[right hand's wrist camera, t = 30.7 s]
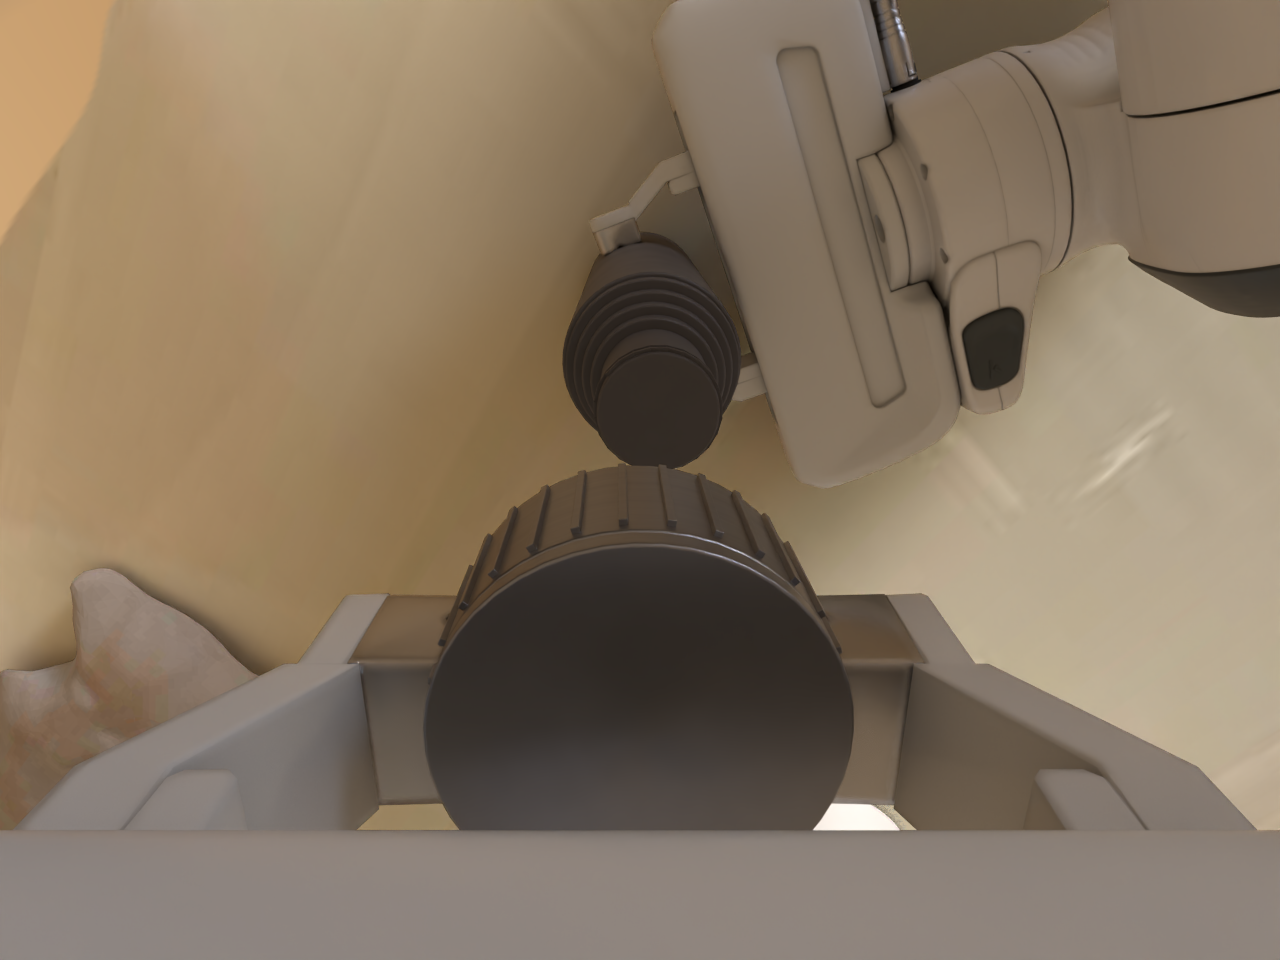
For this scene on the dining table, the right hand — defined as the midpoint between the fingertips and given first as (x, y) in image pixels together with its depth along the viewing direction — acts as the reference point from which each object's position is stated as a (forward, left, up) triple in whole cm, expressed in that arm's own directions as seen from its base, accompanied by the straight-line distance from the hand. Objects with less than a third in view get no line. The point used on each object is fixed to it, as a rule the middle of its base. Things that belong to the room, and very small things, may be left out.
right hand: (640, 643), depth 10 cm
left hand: (-1, 0, -26) cm, 26 cm away
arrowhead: (-45, +9, -32) cm, 56 cm away
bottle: (0, 0, -32) cm, 32 cm away
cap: (0, 0, +2) cm, 2 cm away
